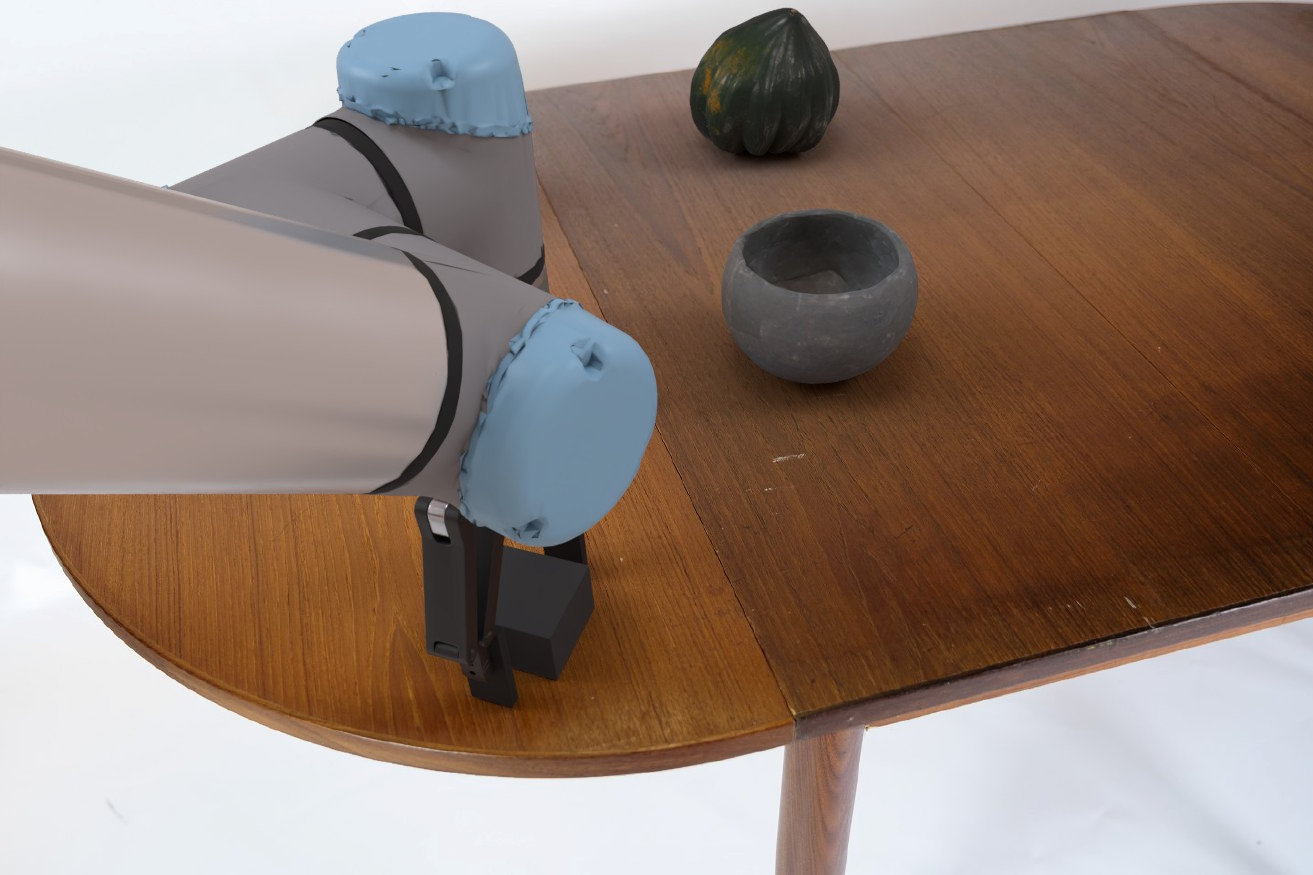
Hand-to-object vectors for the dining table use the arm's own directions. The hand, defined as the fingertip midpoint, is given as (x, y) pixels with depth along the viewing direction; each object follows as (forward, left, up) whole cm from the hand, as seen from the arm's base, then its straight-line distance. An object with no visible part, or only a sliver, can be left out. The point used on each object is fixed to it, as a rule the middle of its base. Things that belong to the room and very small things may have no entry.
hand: (533, 628), depth 71 cm
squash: (+67, +4, 0) cm, 68 cm away
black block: (0, 0, 0) cm, 0 cm away
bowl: (+32, -10, 0) cm, 34 cm away
